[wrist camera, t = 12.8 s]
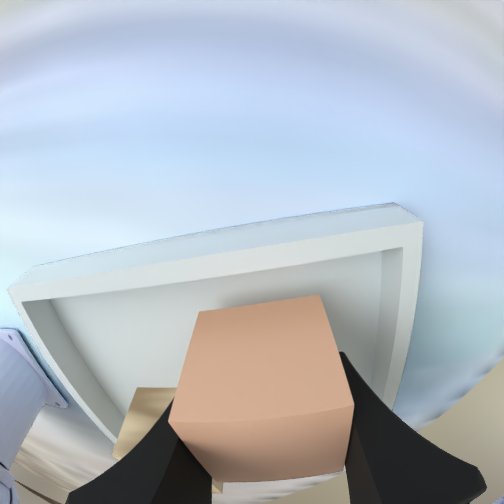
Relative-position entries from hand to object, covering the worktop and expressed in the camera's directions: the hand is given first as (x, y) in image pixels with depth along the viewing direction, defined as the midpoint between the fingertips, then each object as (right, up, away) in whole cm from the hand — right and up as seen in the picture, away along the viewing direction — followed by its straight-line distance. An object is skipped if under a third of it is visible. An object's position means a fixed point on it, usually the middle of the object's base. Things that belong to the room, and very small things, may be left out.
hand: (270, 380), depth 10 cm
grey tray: (-2, -2, +5) cm, 5 cm away
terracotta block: (0, +1, +1) cm, 2 cm away
